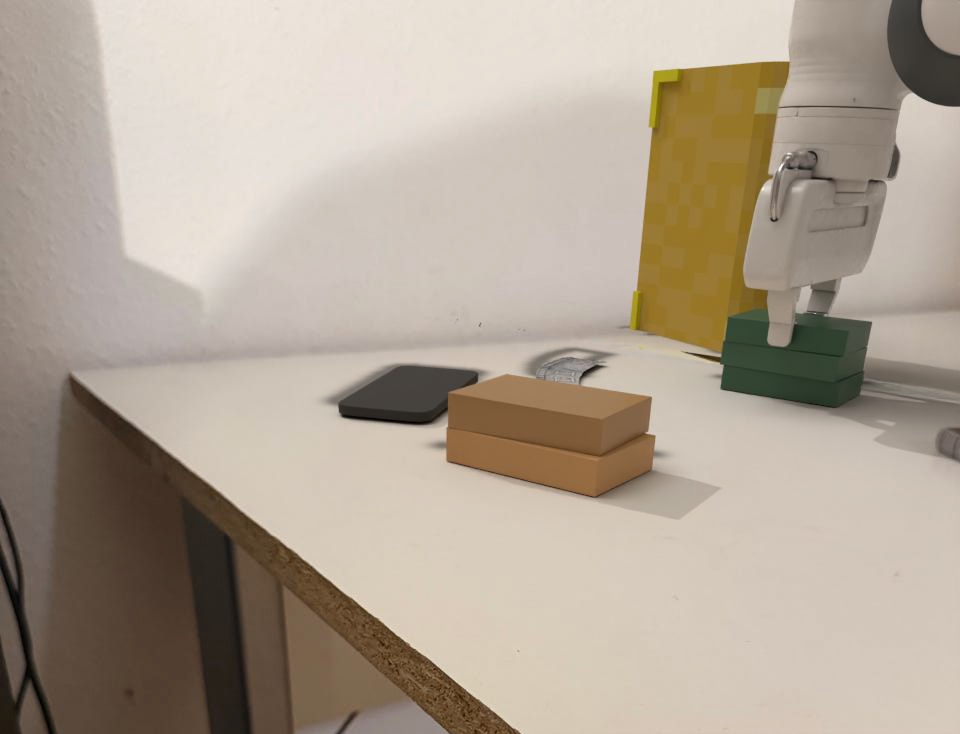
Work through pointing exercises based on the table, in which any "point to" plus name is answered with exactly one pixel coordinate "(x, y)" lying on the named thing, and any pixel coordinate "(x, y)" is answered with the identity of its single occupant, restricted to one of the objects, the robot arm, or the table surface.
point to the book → (704, 198)
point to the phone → (407, 393)
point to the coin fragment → (565, 369)
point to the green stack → (792, 373)
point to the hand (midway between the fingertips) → (797, 339)
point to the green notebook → (802, 332)
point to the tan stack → (551, 432)
